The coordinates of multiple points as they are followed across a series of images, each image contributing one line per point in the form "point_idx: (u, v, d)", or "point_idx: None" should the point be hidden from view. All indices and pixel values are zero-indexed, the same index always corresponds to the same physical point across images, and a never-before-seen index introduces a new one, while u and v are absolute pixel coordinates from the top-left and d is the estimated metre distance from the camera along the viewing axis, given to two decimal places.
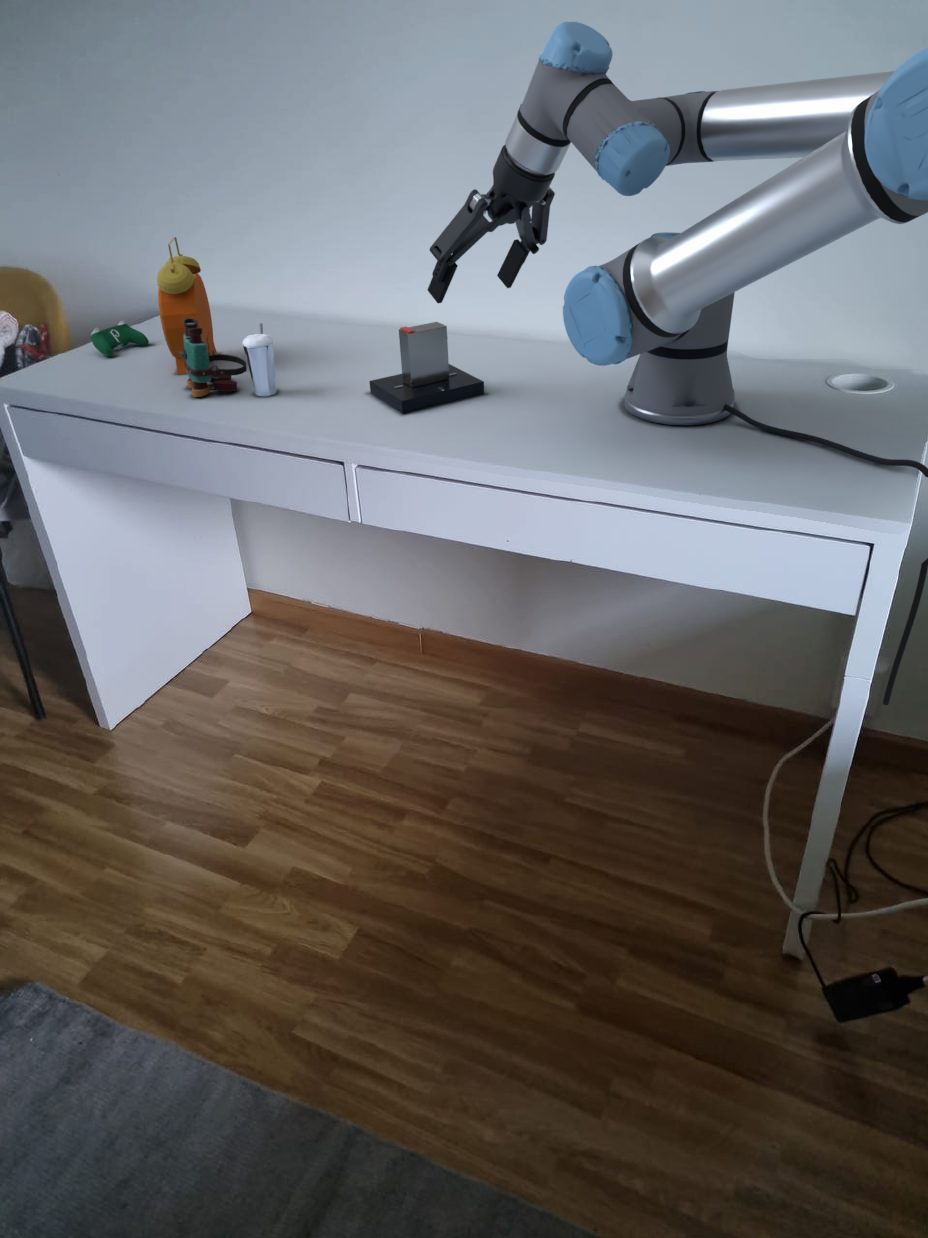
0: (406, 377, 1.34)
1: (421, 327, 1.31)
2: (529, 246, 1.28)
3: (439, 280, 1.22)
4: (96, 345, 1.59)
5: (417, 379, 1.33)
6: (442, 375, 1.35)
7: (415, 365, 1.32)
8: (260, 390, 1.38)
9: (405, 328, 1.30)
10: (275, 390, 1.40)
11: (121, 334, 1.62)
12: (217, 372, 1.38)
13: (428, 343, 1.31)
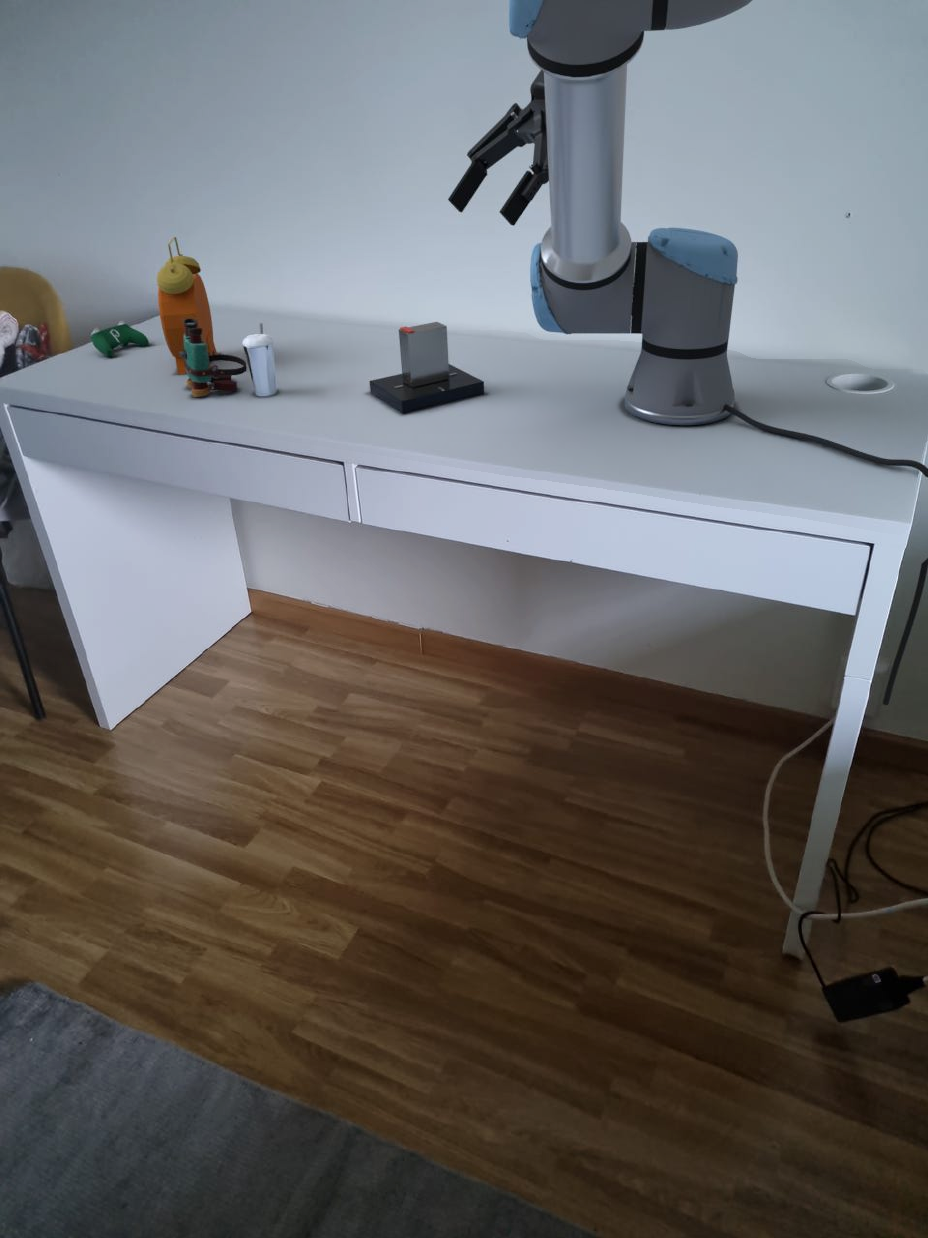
0: (406, 377, 1.34)
1: (421, 327, 1.31)
2: None
3: None
4: (96, 345, 1.59)
5: (417, 379, 1.33)
6: (442, 375, 1.35)
7: (415, 365, 1.32)
8: (260, 390, 1.38)
9: (405, 328, 1.30)
10: (275, 390, 1.40)
11: (121, 334, 1.62)
12: (217, 372, 1.38)
13: (428, 343, 1.31)
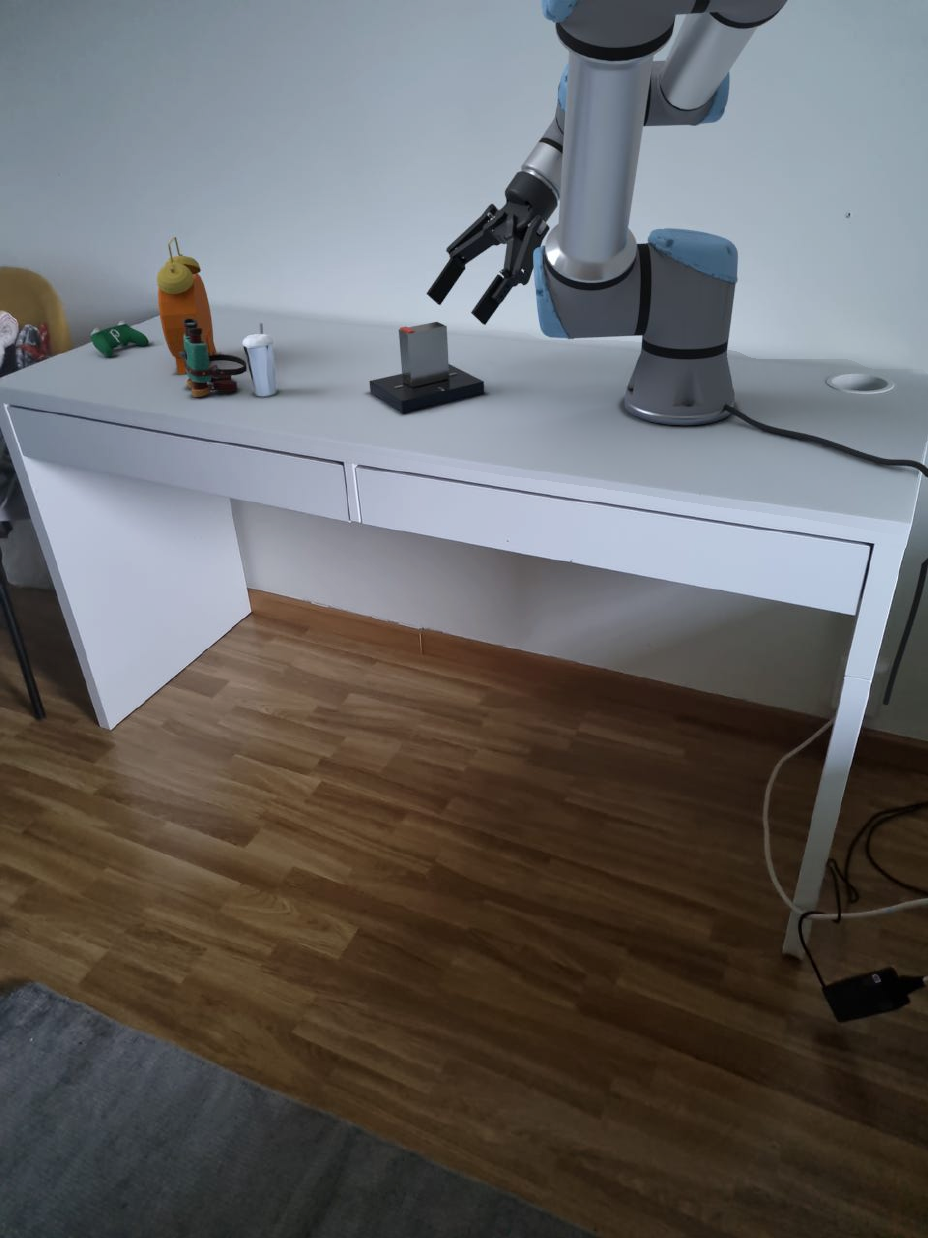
0: (406, 377, 1.34)
1: (421, 327, 1.31)
2: None
3: None
4: (96, 345, 1.59)
5: (417, 379, 1.33)
6: (442, 375, 1.35)
7: (415, 365, 1.32)
8: (260, 390, 1.38)
9: (405, 328, 1.30)
10: (275, 390, 1.40)
11: (121, 334, 1.62)
12: (217, 372, 1.38)
13: (428, 343, 1.31)
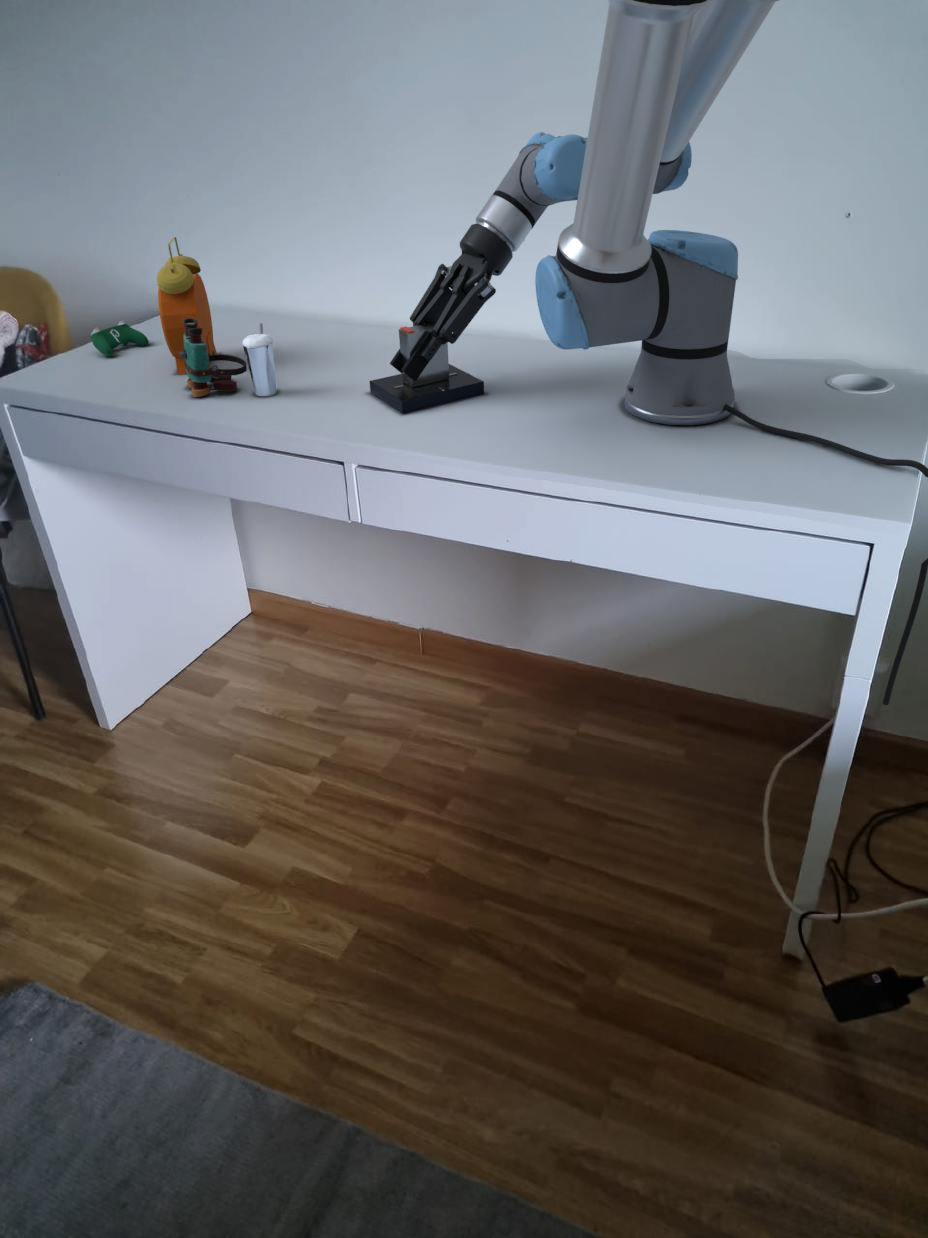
0: (406, 377, 1.34)
1: (421, 327, 1.31)
2: (434, 327, 1.30)
3: None
4: (96, 345, 1.59)
5: (417, 379, 1.33)
6: (442, 375, 1.35)
7: None
8: (260, 390, 1.38)
9: (405, 328, 1.30)
10: (275, 390, 1.40)
11: (121, 334, 1.62)
12: (217, 372, 1.38)
13: None
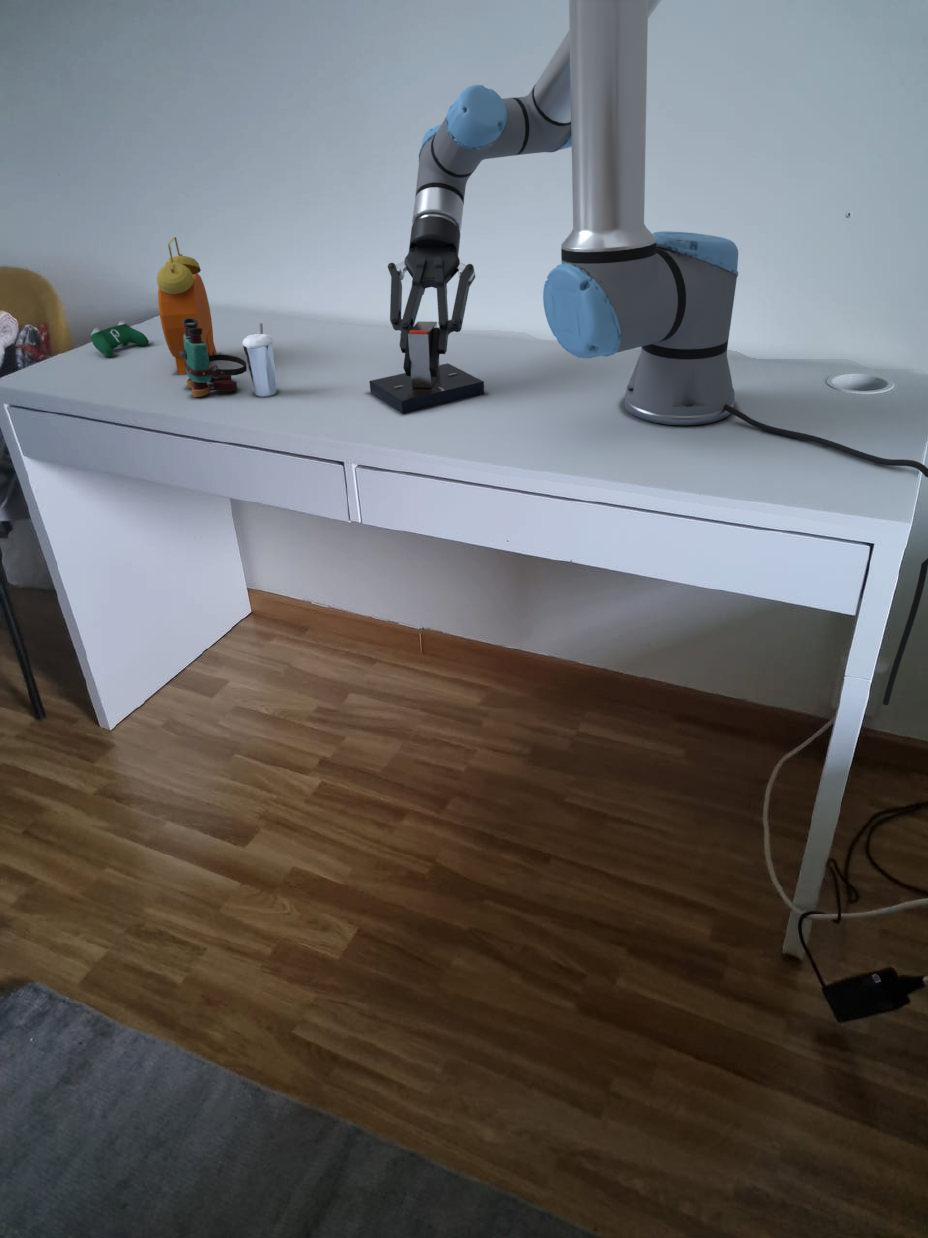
0: (420, 380, 1.32)
1: (420, 327, 1.31)
2: (439, 320, 1.31)
3: (401, 346, 1.32)
4: (96, 345, 1.59)
5: (432, 378, 1.33)
6: (438, 371, 1.37)
7: None
8: (260, 390, 1.38)
9: (415, 331, 1.29)
10: (275, 390, 1.40)
11: (121, 334, 1.62)
12: (217, 372, 1.38)
13: None
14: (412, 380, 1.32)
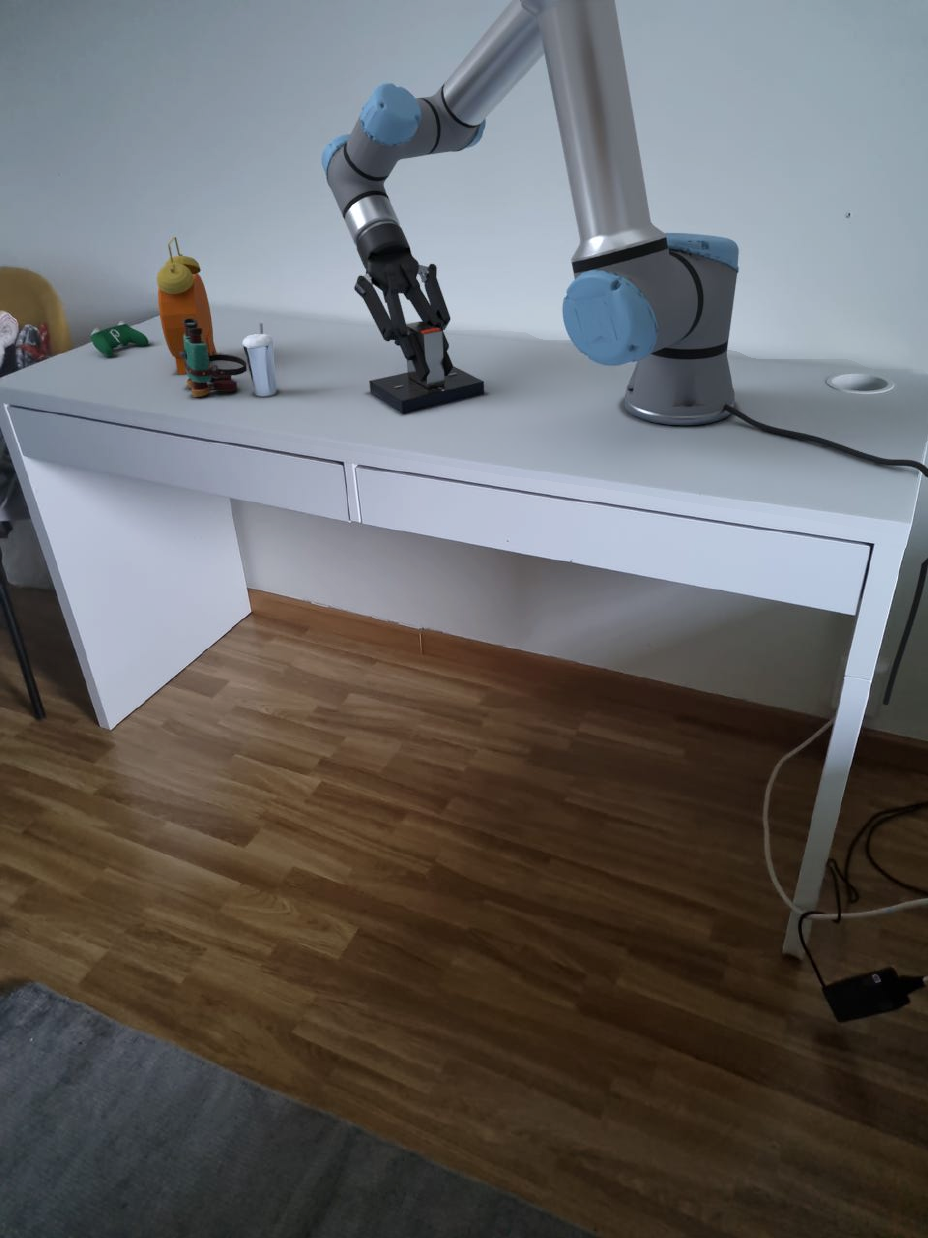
0: (435, 379, 1.32)
1: (421, 327, 1.31)
2: (433, 320, 1.33)
3: (410, 353, 1.30)
4: (96, 345, 1.59)
5: None
6: None
7: None
8: (260, 390, 1.38)
9: (428, 330, 1.29)
10: (275, 390, 1.40)
11: (121, 334, 1.62)
12: (217, 372, 1.38)
13: None
14: (428, 380, 1.32)
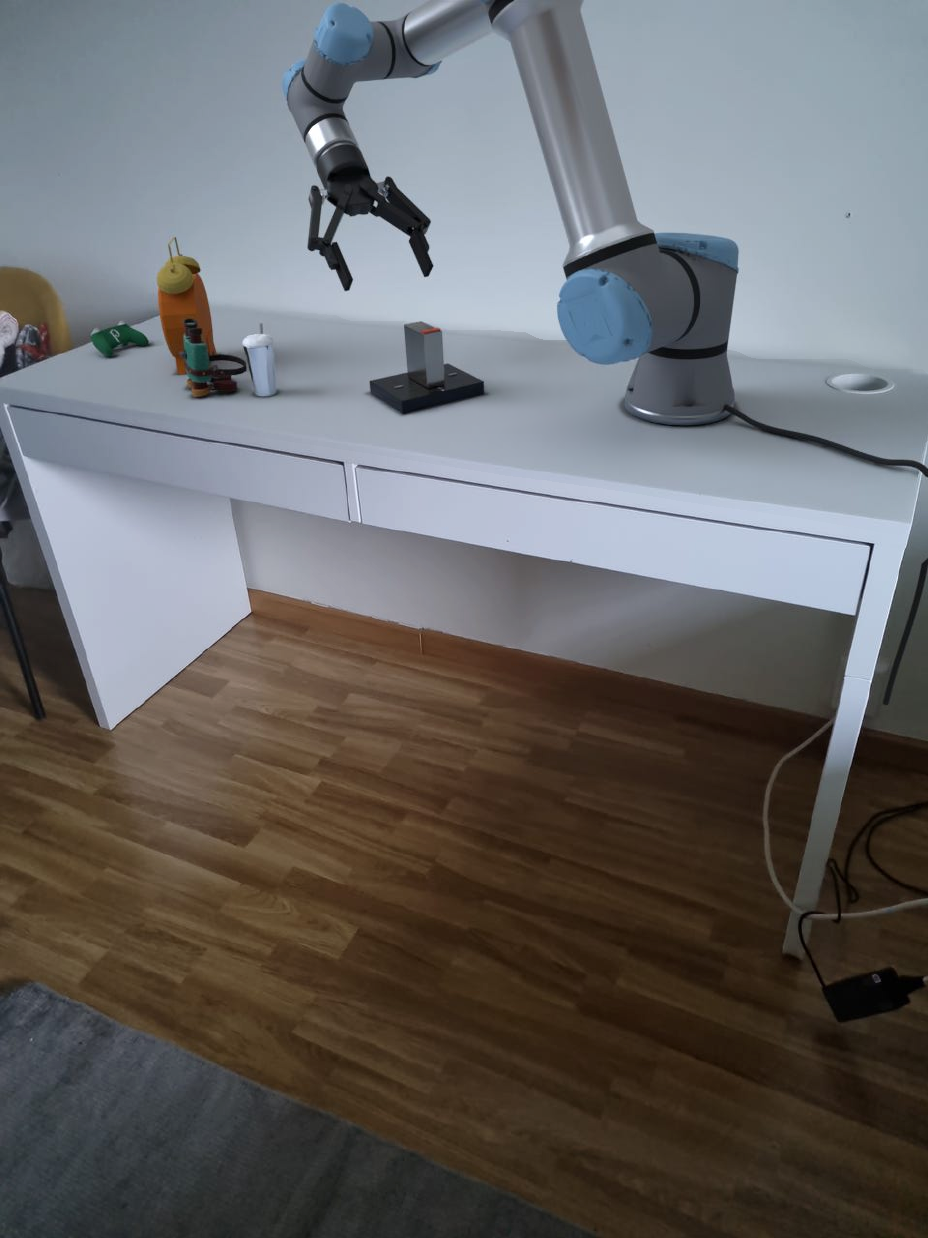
0: (435, 379, 1.32)
1: (421, 327, 1.31)
2: (413, 225, 1.38)
3: (333, 261, 1.32)
4: (96, 345, 1.59)
5: None
6: None
7: None
8: (260, 390, 1.38)
9: (428, 330, 1.29)
10: (275, 390, 1.40)
11: (121, 334, 1.62)
12: (217, 372, 1.38)
13: None
14: (428, 380, 1.32)
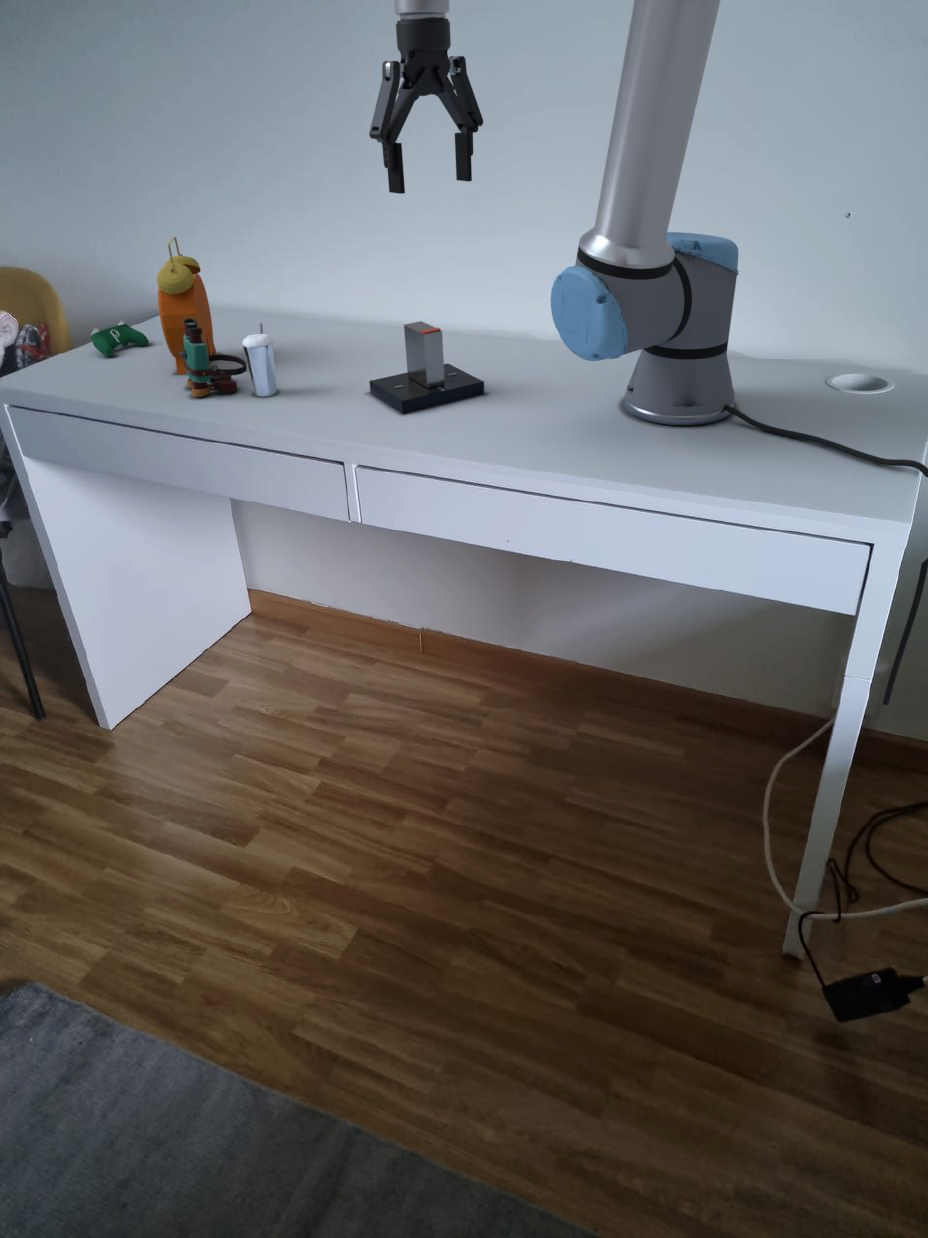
0: (435, 379, 1.32)
1: (421, 327, 1.31)
2: (468, 126, 1.34)
3: (391, 165, 1.28)
4: (96, 345, 1.59)
5: None
6: None
7: None
8: (260, 390, 1.38)
9: (428, 330, 1.29)
10: (275, 390, 1.40)
11: (121, 334, 1.62)
12: (217, 372, 1.38)
13: None
14: (428, 380, 1.32)
